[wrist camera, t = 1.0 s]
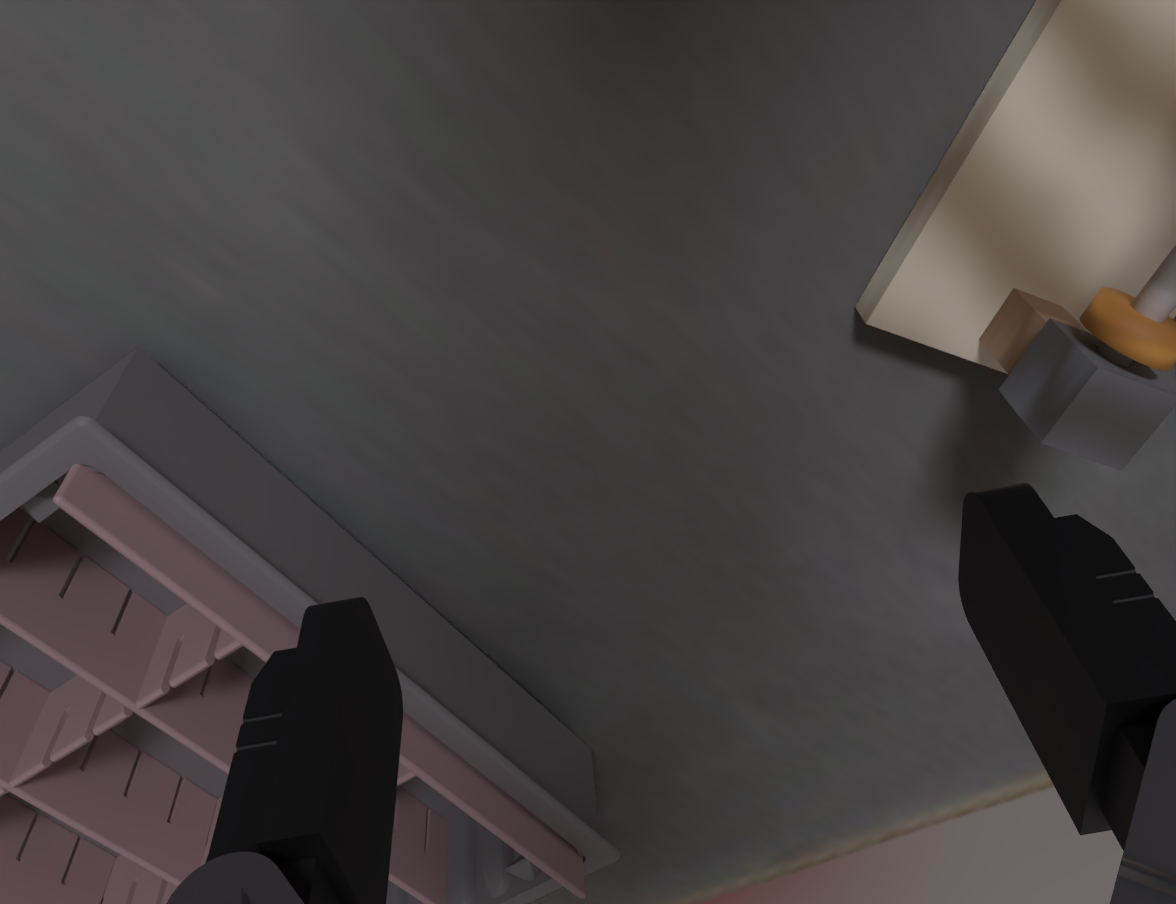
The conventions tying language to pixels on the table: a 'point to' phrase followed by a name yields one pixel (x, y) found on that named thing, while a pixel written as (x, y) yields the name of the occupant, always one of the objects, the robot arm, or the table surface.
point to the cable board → (1056, 229)
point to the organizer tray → (230, 668)
